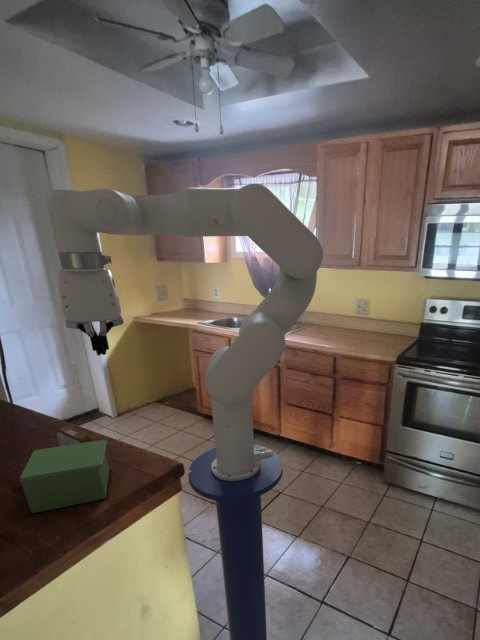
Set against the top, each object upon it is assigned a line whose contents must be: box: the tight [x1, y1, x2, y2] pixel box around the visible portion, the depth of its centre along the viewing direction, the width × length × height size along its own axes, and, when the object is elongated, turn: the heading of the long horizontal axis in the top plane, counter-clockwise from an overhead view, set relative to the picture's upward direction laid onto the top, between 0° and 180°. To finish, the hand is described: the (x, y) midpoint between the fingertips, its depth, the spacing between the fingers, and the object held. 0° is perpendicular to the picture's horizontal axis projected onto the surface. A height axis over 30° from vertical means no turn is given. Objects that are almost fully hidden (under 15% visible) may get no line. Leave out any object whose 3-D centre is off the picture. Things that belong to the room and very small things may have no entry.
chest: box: [20, 453, 110, 514], centre depth 81 cm, size 14×11×8 cm
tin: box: [54, 424, 95, 447], centre depth 92 cm, size 15×3×8 cm, turn 59°
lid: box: [19, 438, 108, 483], centre depth 79 cm, size 14×11×1 cm
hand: (101, 353), depth 79 cm, fingers closed
